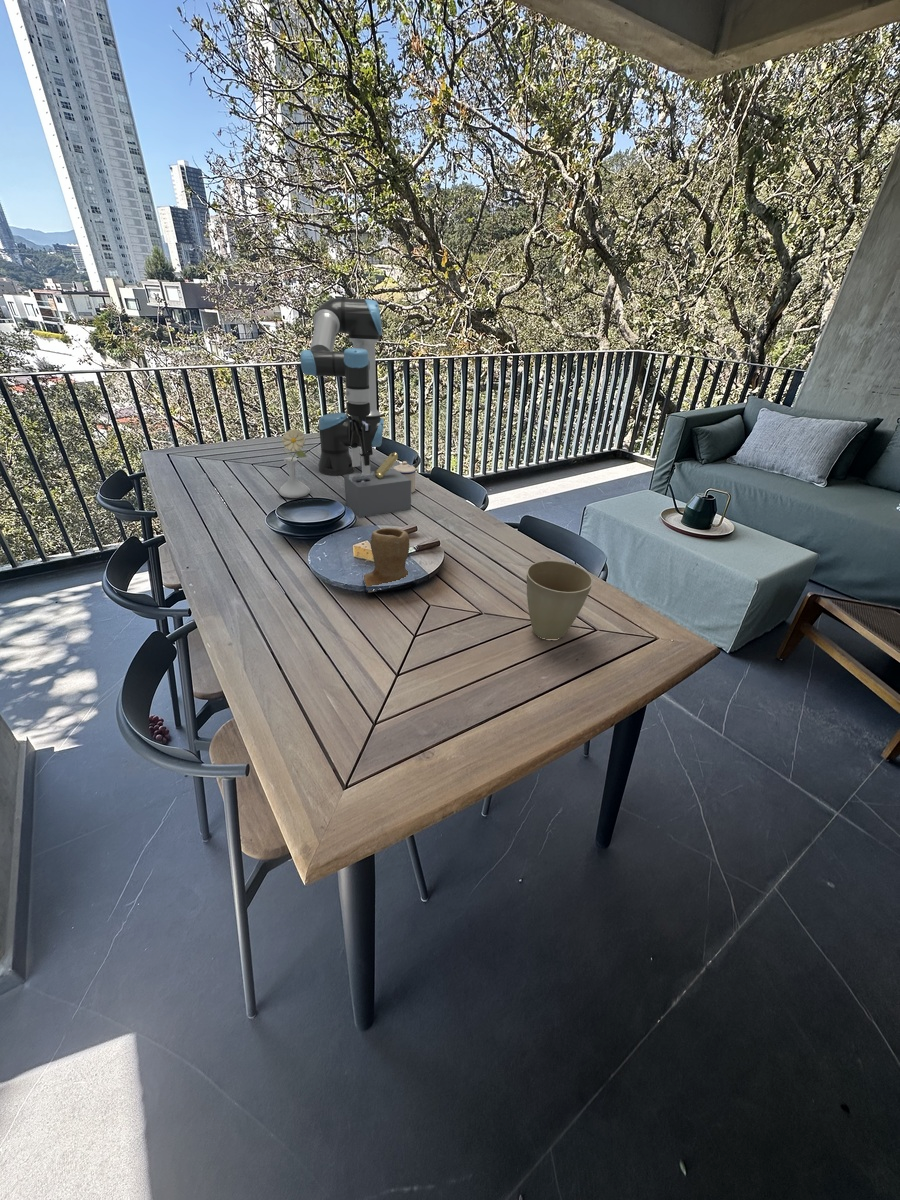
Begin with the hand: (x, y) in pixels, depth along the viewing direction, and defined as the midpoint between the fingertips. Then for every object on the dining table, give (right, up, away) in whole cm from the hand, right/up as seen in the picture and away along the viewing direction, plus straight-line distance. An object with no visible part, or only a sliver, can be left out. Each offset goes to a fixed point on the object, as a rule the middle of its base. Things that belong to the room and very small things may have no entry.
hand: (361, 470), depth 174 cm
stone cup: (+14, -41, -36) cm, 56 cm away
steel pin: (-1, -11, +8) cm, 13 cm away
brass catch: (+9, +3, +5) cm, 10 cm away
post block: (+4, -11, +10) cm, 16 cm away
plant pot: (+55, -54, -52) cm, 93 cm away
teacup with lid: (+11, -2, +26) cm, 28 cm away
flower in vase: (-27, -6, +16) cm, 32 cm away
